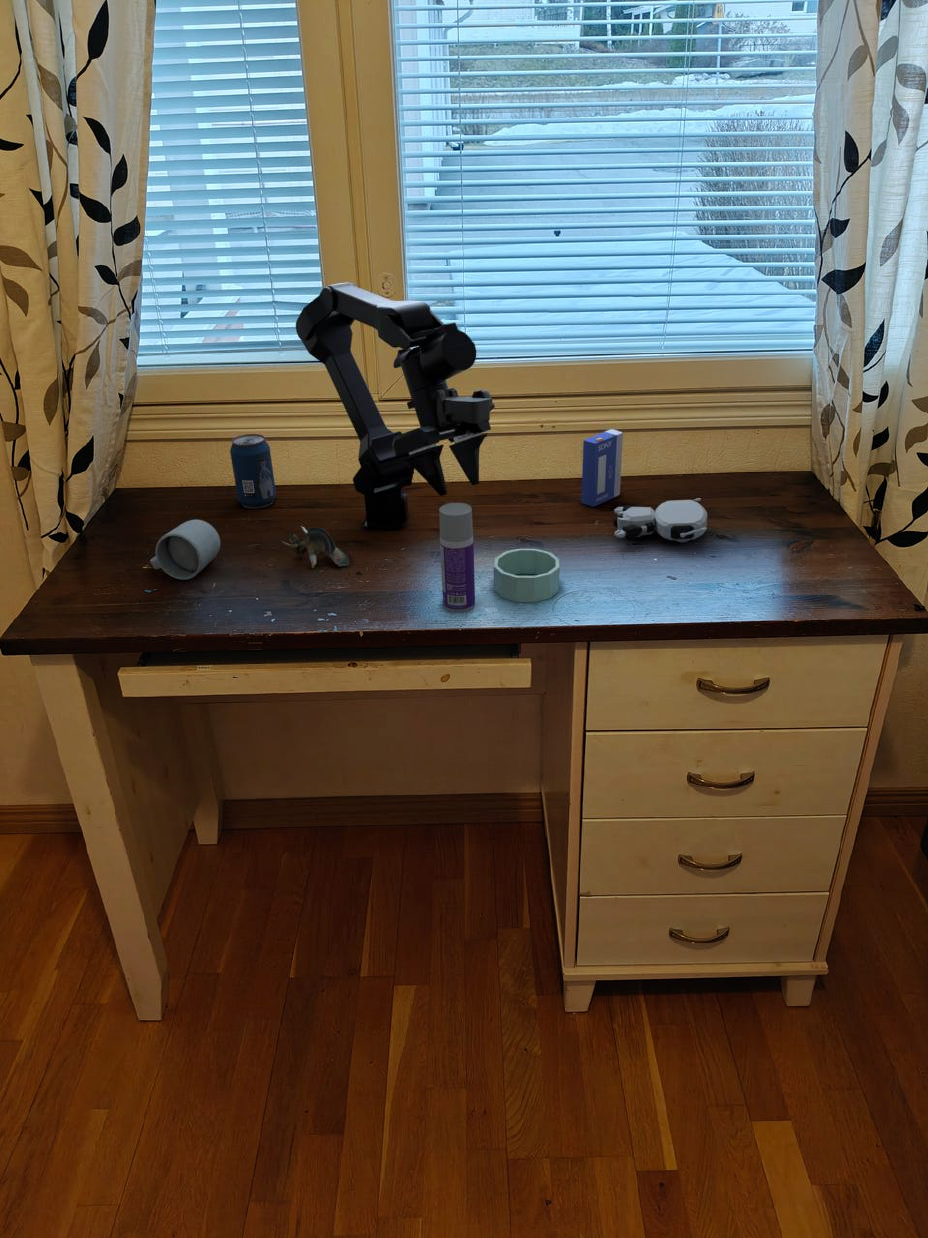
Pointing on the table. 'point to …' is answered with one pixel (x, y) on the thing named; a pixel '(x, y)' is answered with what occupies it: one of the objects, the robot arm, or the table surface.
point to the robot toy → (662, 520)
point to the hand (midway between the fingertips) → (460, 489)
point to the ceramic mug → (187, 549)
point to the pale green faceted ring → (526, 586)
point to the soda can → (253, 471)
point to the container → (457, 557)
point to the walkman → (601, 467)
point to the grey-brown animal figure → (317, 546)
